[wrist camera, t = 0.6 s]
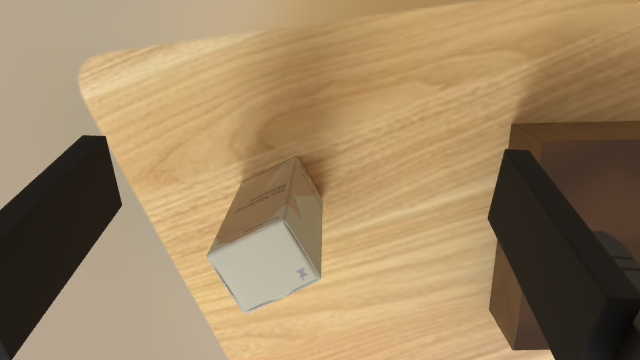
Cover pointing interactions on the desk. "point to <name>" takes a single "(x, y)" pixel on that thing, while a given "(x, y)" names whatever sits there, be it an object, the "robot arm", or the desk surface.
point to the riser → (574, 202)
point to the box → (270, 237)
